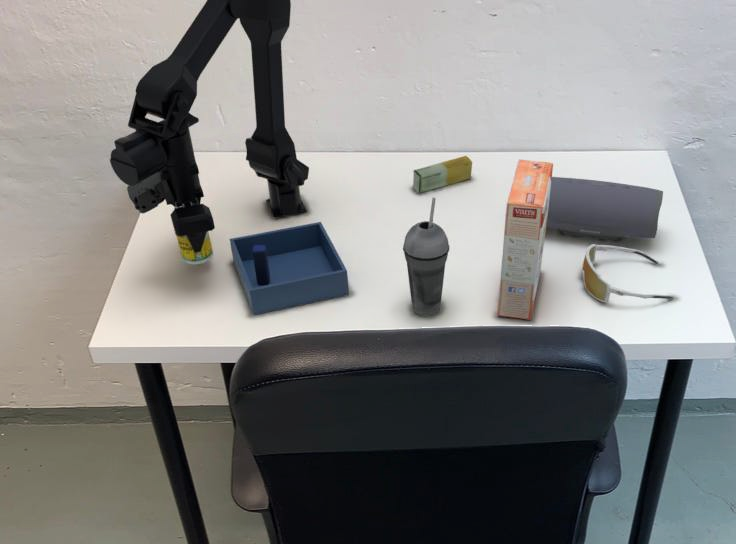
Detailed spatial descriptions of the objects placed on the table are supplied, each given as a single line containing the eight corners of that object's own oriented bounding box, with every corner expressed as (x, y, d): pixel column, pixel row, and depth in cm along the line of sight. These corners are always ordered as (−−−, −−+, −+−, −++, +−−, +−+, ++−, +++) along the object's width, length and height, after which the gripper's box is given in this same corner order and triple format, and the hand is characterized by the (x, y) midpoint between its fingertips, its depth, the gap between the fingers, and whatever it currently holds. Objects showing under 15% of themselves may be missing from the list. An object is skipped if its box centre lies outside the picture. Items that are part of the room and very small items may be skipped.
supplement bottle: (218, 251, 155) (209, 201, 148) (204, 267, 151) (193, 217, 144) (191, 246, 156) (180, 196, 149) (175, 262, 152) (164, 212, 146)
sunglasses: (571, 260, 156) (578, 235, 153) (653, 267, 158) (662, 243, 155) (586, 308, 146) (594, 283, 142) (673, 315, 148) (683, 291, 145)
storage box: (233, 262, 156) (229, 238, 152) (323, 244, 160) (320, 221, 156) (253, 315, 145) (249, 290, 142) (349, 294, 149) (347, 270, 146)
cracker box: (533, 321, 144) (545, 206, 129) (496, 317, 144) (504, 202, 130) (542, 273, 153) (555, 160, 139) (507, 269, 154) (516, 157, 140)
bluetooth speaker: (654, 227, 164) (664, 177, 157) (652, 254, 158) (662, 204, 150) (532, 212, 168) (536, 163, 161) (524, 238, 161) (529, 189, 154)
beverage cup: (402, 295, 149) (400, 187, 135) (446, 293, 149) (447, 185, 135) (405, 322, 144) (403, 212, 129) (450, 320, 144) (452, 210, 130)
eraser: (258, 278, 152) (252, 243, 147) (271, 278, 152) (266, 244, 147) (256, 285, 150) (250, 251, 145) (269, 285, 150) (264, 251, 145)
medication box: (418, 194, 173) (418, 176, 169) (411, 187, 174) (412, 169, 171) (471, 178, 176) (473, 161, 173) (465, 171, 178) (466, 154, 175)
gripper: (117, 140, 145) (139, 224, 156) (131, 195, 133) (154, 282, 144) (186, 129, 148) (203, 212, 159) (206, 182, 135) (223, 268, 146)
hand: (194, 243), depth 152 cm, fingers closed on supplement bottle, 5 cm apart
